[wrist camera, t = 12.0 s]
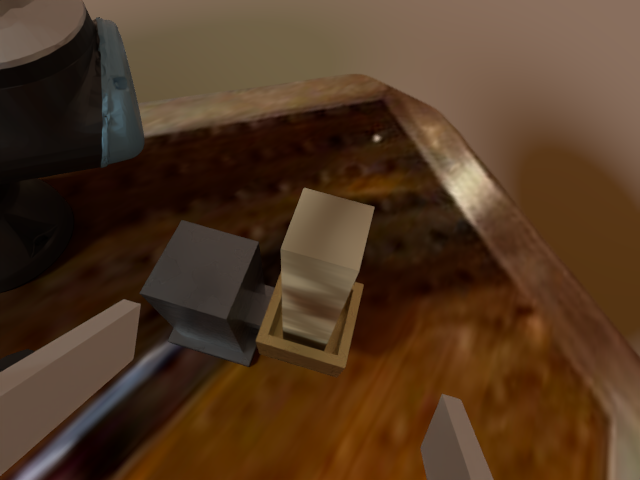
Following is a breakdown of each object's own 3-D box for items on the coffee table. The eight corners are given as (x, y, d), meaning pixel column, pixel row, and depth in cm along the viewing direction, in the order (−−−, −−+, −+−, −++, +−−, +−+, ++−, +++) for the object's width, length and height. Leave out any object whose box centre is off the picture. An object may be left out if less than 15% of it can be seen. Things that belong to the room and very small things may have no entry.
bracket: (169, 342, 37) (120, 301, 26) (205, 269, 42) (176, 208, 31) (329, 391, 36) (348, 370, 25) (348, 311, 41) (372, 263, 30)
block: (282, 338, 33) (280, 248, 17) (295, 300, 35) (304, 187, 19) (323, 351, 33) (359, 271, 17) (334, 311, 35) (374, 206, 19)
